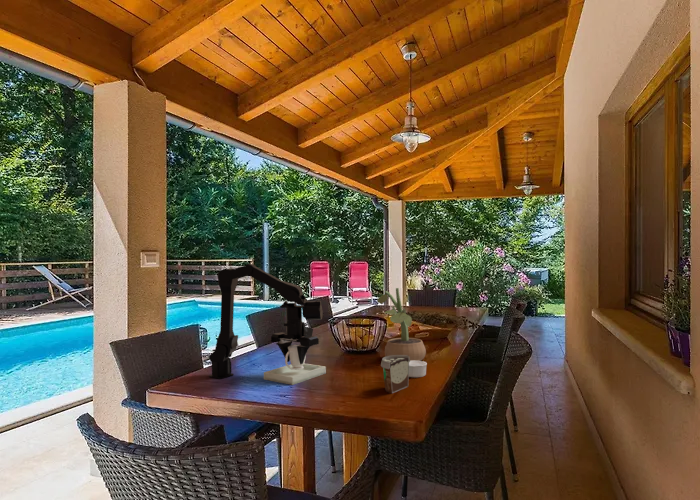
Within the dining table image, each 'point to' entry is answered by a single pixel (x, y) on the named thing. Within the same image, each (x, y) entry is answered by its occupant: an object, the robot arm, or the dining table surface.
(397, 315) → the potted plant
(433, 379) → the dining table surface
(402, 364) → the food container
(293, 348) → the cup
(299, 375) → the tray
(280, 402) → the dining table surface
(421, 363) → the ramekin
